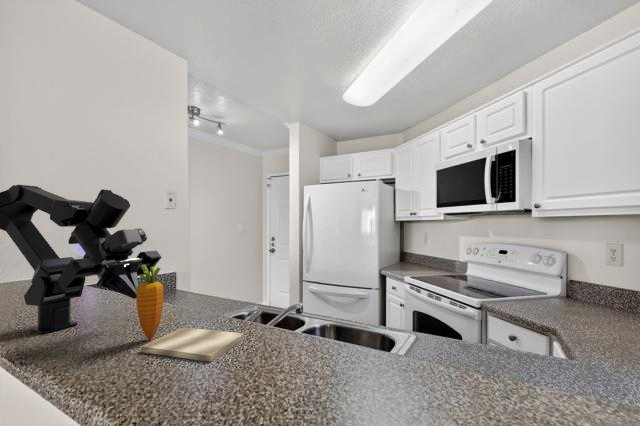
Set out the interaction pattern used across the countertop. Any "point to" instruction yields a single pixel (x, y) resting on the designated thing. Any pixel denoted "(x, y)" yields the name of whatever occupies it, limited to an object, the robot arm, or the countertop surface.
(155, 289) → the carrot
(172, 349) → the cutting board
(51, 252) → the robot arm
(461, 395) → the countertop surface
